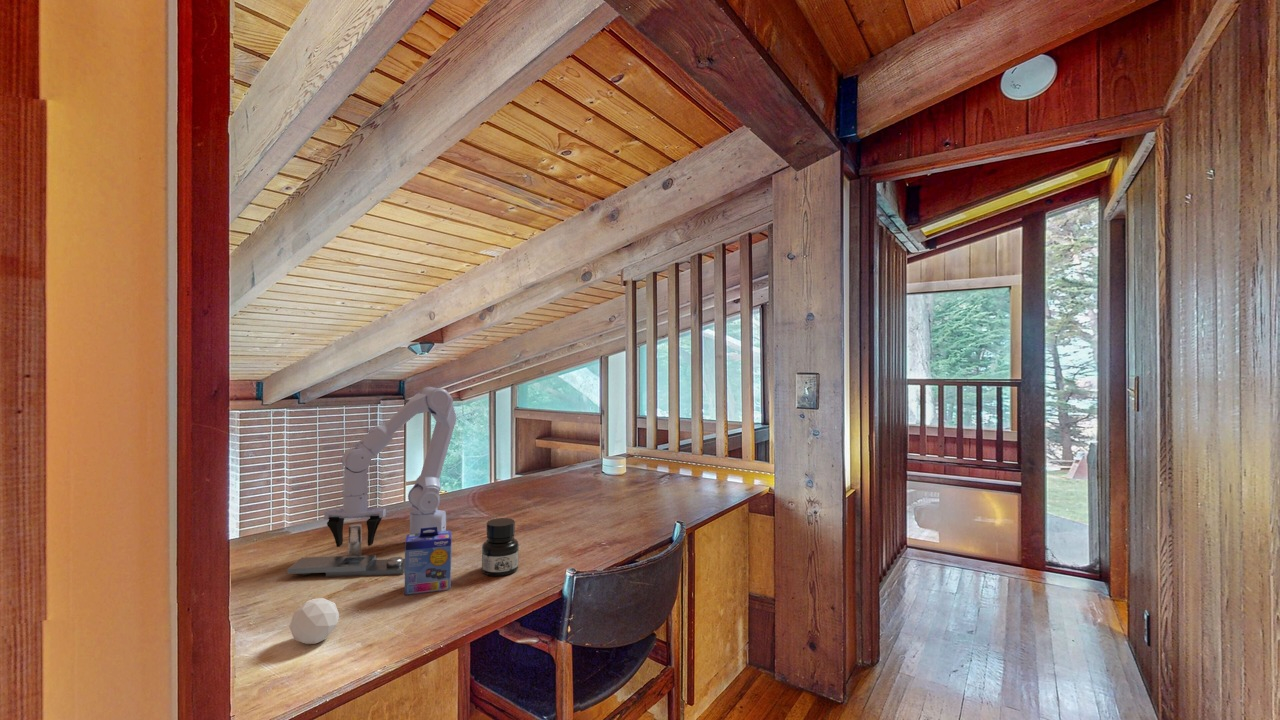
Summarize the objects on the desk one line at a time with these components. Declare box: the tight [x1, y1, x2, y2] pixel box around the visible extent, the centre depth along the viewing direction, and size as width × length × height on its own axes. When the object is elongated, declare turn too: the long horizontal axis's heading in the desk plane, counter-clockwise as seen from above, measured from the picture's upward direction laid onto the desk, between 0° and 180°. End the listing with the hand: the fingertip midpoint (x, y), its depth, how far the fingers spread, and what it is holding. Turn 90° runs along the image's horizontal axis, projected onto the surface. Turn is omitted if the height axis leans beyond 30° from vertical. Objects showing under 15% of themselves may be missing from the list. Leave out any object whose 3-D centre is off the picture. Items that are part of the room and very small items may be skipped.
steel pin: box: [348, 523, 363, 556], centre depth 141 cm, size 3×3×8 cm
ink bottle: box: [481, 517, 520, 577], centre depth 133 cm, size 10×9×12 cm
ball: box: [288, 597, 340, 645], centre depth 99 cm, size 8×8×8 cm
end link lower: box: [325, 556, 405, 578], centre depth 132 cm, size 18×7×2 cm, turn 98°
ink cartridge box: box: [404, 527, 452, 596], centre depth 122 cm, size 10×6×14 cm, turn 111°
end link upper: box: [287, 554, 377, 576], centre depth 130 cm, size 18×7×2 cm, turn 98°
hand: (355, 545), depth 141 cm, fingers open, 7 cm apart
